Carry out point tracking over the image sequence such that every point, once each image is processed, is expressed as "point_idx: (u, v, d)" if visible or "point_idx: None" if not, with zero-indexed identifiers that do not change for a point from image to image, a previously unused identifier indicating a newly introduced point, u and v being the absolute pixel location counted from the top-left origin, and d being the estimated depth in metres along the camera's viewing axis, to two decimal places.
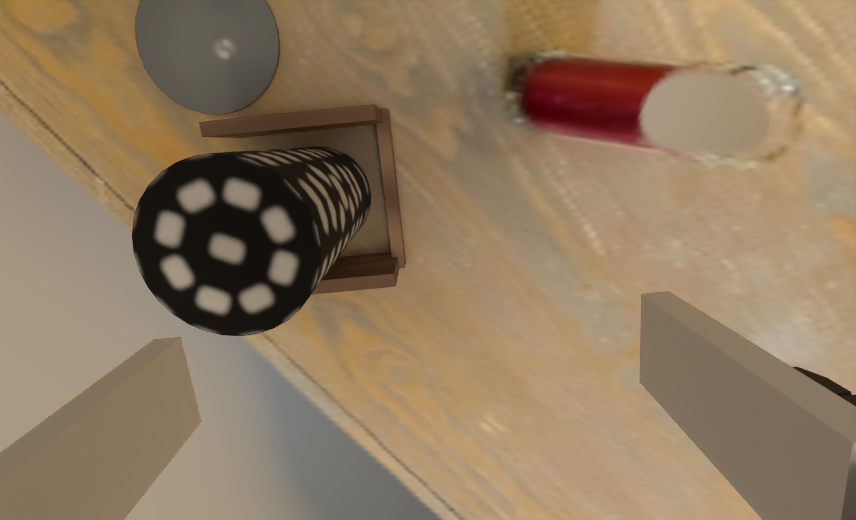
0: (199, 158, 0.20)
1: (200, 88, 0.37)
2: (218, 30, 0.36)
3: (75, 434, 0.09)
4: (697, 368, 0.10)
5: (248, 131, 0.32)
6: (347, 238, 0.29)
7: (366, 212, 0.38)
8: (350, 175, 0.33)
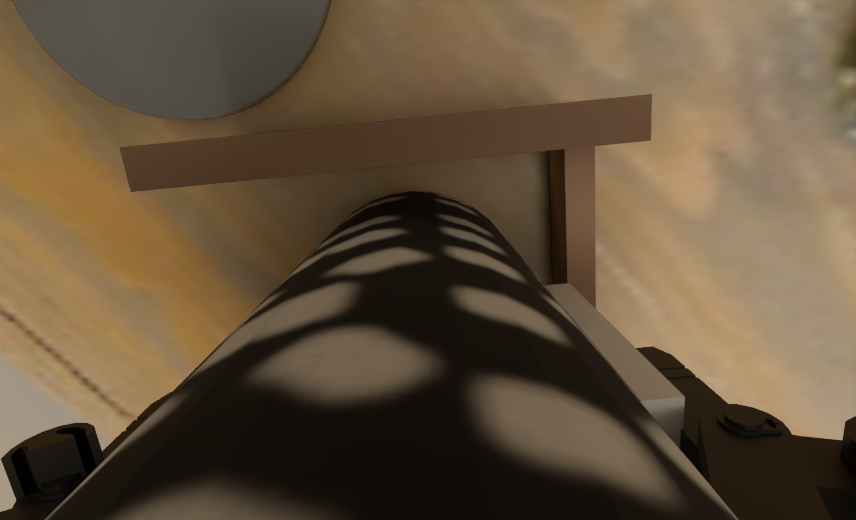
0: None
1: (150, 61, 0.16)
2: None
3: None
4: None
5: (268, 175, 0.11)
6: None
7: None
8: None
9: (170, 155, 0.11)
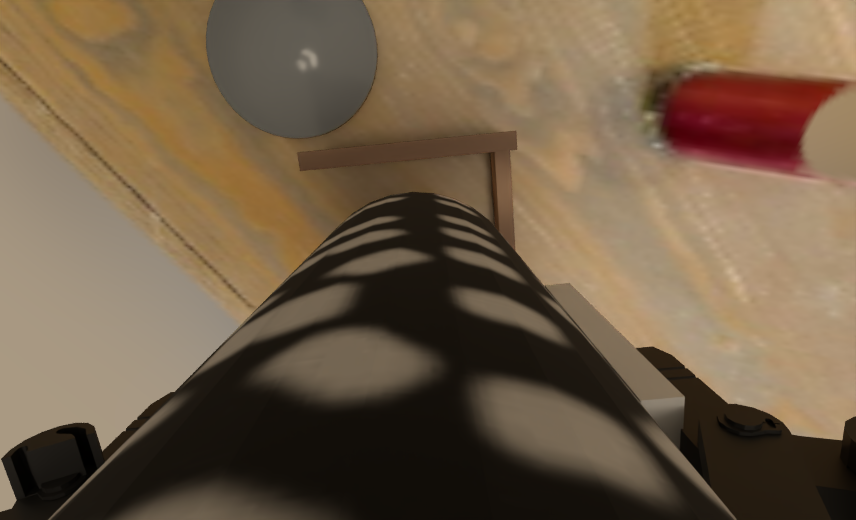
0: None
1: (281, 108, 0.31)
2: (306, 38, 0.30)
3: None
4: None
5: (358, 164, 0.26)
6: None
7: None
8: None
9: (318, 155, 0.25)
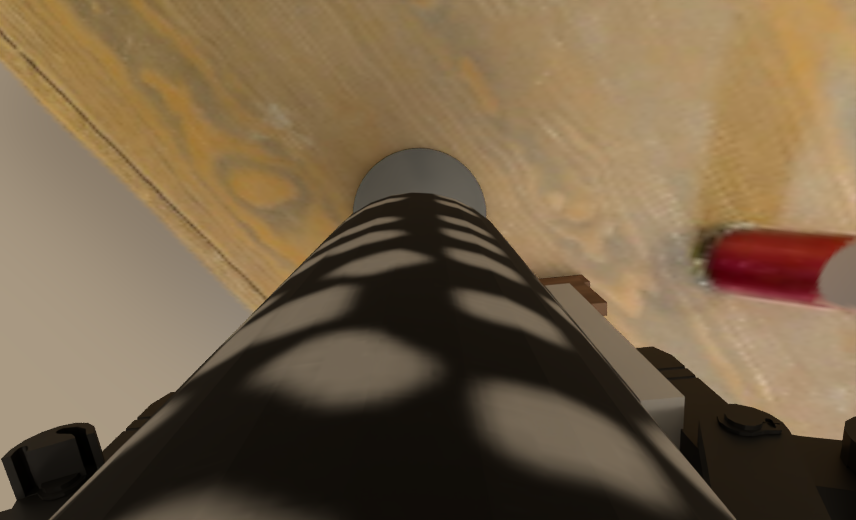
0: None
1: None
2: None
3: None
4: None
5: None
6: None
7: None
8: None
9: None
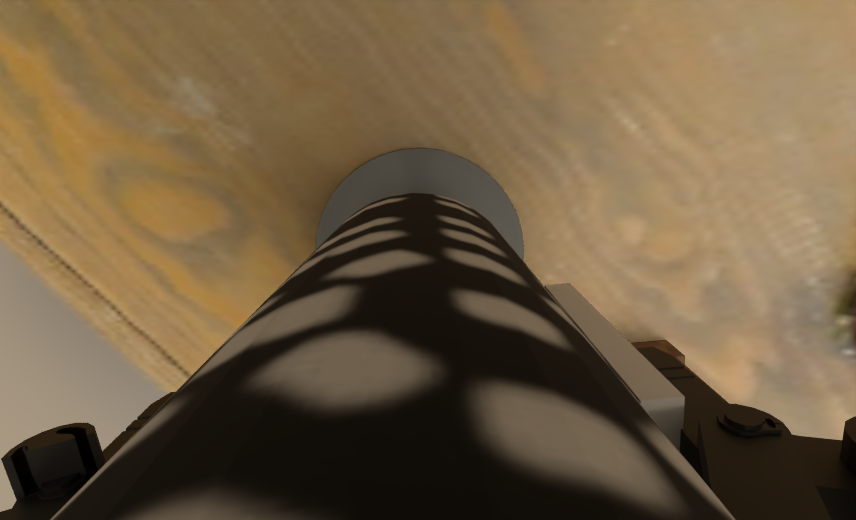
0: None
1: None
2: None
3: None
4: None
5: None
6: None
7: None
8: None
9: None
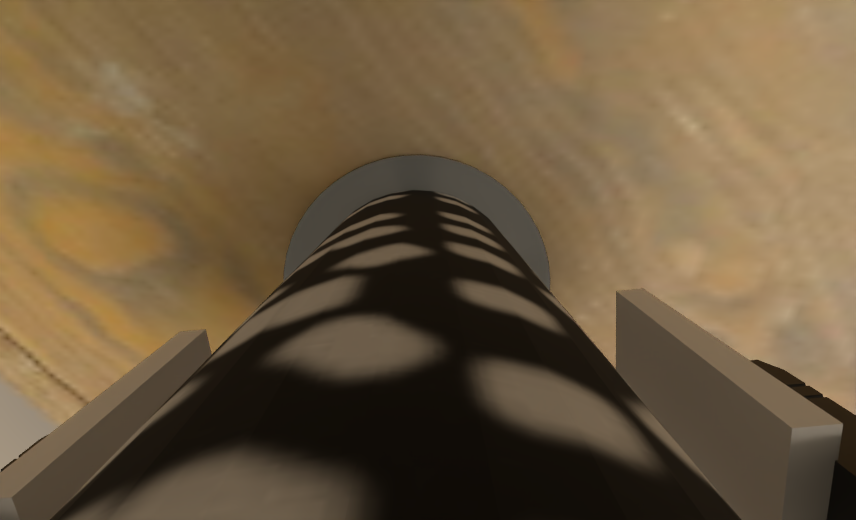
0: None
1: None
2: None
3: (115, 419, 0.09)
4: (664, 361, 0.11)
5: None
6: None
7: None
8: None
9: None
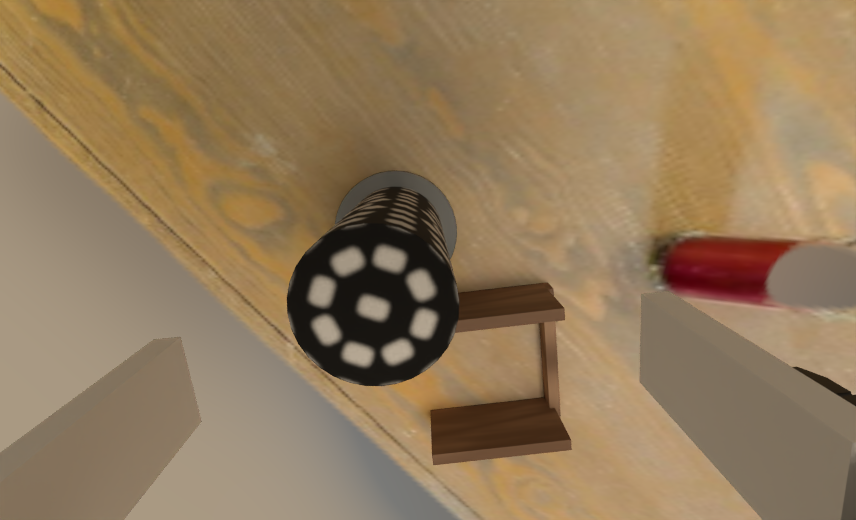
0: (353, 228, 0.21)
1: None
2: None
3: (75, 434, 0.09)
4: (697, 368, 0.10)
5: (455, 331, 0.37)
6: None
7: None
8: (436, 218, 0.35)
9: None
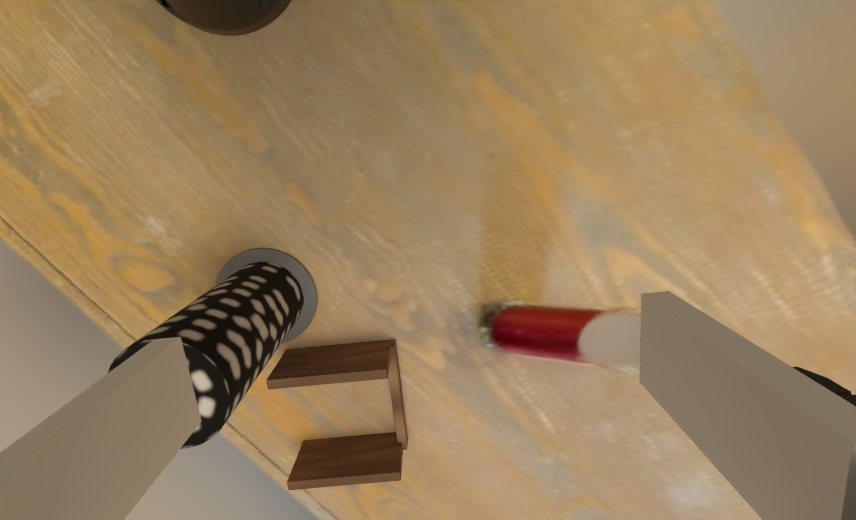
0: (148, 342, 0.30)
1: None
2: None
3: (75, 434, 0.09)
4: (697, 368, 0.10)
5: (300, 385, 0.46)
6: (268, 356, 0.40)
7: (298, 314, 0.49)
8: (278, 298, 0.44)
9: (277, 381, 0.46)
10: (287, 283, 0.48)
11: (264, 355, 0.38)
